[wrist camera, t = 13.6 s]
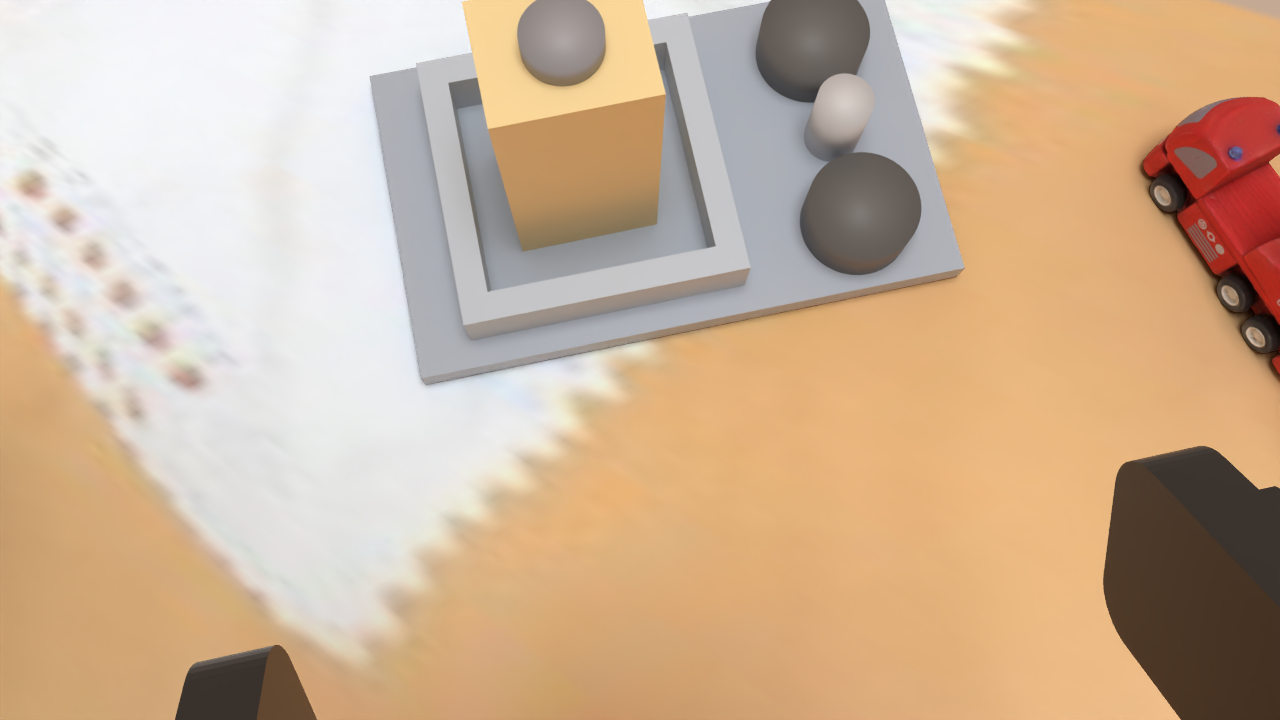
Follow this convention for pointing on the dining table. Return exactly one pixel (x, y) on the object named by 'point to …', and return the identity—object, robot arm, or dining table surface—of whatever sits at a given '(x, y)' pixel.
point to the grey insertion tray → (677, 194)
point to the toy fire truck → (1229, 204)
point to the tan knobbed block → (571, 113)
